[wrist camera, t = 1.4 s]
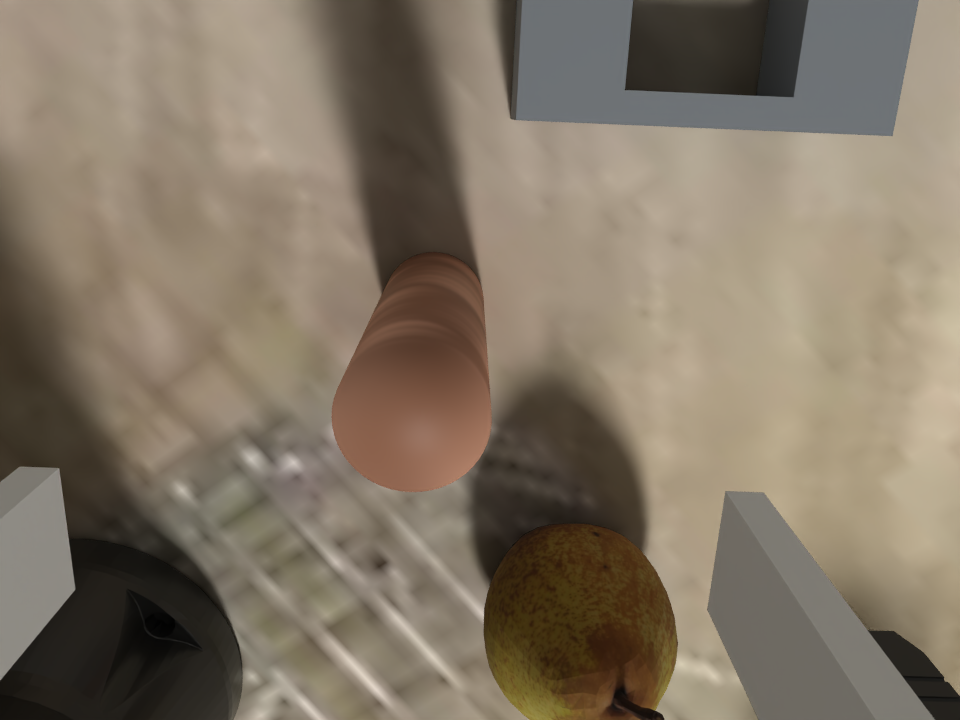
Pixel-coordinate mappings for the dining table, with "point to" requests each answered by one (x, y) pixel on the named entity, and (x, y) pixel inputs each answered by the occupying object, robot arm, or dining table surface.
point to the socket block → (776, 107)
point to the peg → (418, 380)
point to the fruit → (579, 627)
